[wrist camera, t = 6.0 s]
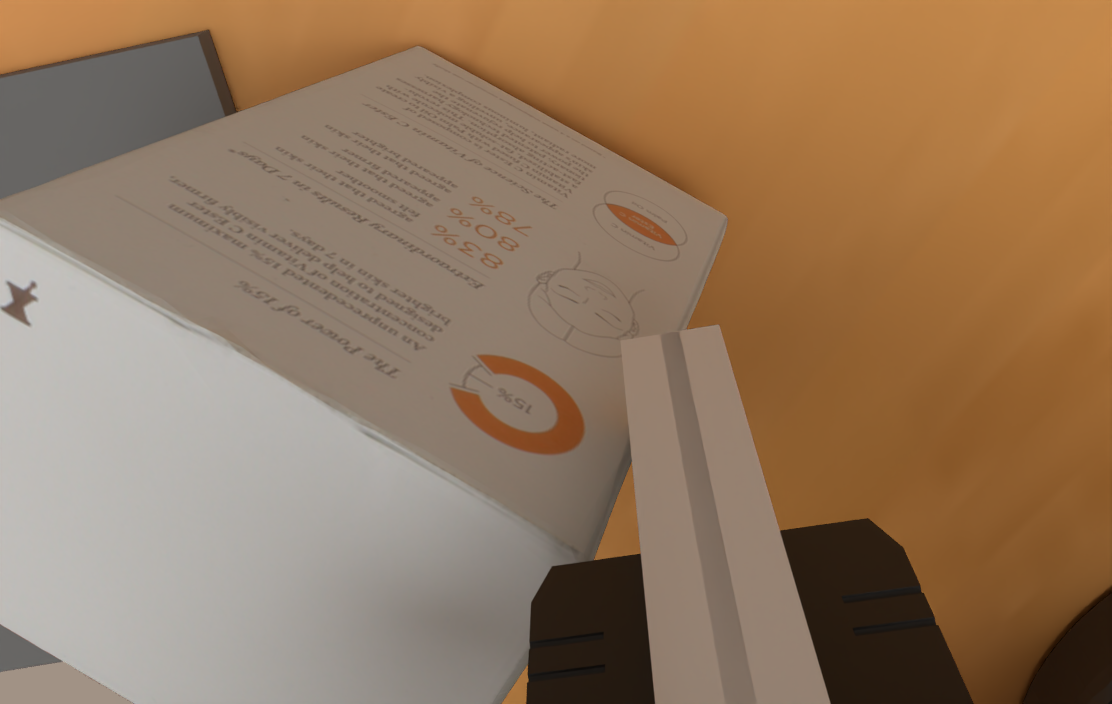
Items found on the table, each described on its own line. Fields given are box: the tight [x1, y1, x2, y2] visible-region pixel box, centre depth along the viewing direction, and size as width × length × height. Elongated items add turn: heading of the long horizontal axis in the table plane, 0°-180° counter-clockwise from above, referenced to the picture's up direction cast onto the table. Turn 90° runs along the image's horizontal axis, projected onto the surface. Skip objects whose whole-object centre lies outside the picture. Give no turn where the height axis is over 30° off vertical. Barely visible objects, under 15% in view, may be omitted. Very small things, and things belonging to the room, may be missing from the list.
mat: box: [0, 30, 236, 672], centre depth 27 cm, size 16×13×1 cm
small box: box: [0, 46, 728, 704], centre depth 18 cm, size 8×6×13 cm
